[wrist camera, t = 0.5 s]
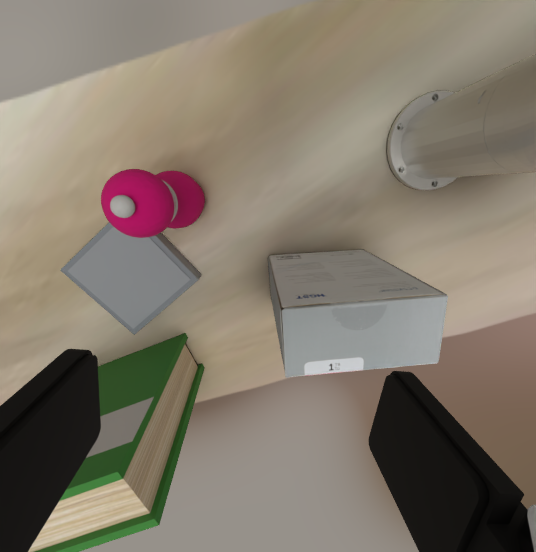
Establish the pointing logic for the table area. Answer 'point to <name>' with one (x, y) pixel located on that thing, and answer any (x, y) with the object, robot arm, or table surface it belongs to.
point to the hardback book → (128, 449)
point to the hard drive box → (352, 313)
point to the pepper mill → (151, 201)
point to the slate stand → (131, 275)
